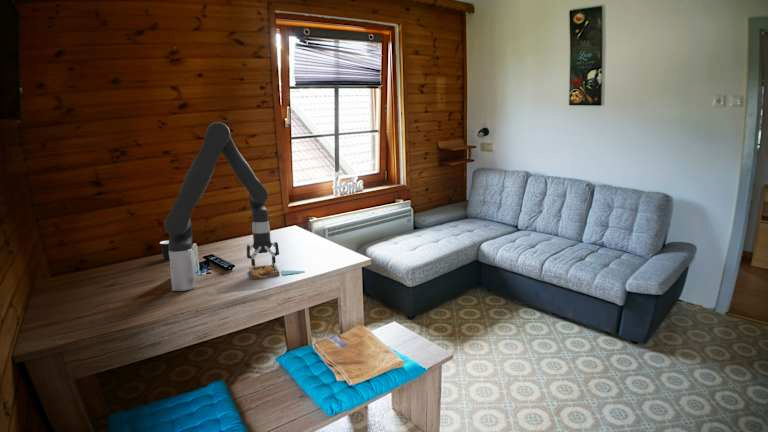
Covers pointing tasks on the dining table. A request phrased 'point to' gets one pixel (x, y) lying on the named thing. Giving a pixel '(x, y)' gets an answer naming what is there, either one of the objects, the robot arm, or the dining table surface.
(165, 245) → the dixie cup
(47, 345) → the dining table surface
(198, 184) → the robot arm
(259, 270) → the figurine
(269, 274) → the brown wooden frame
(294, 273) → the teal pad
